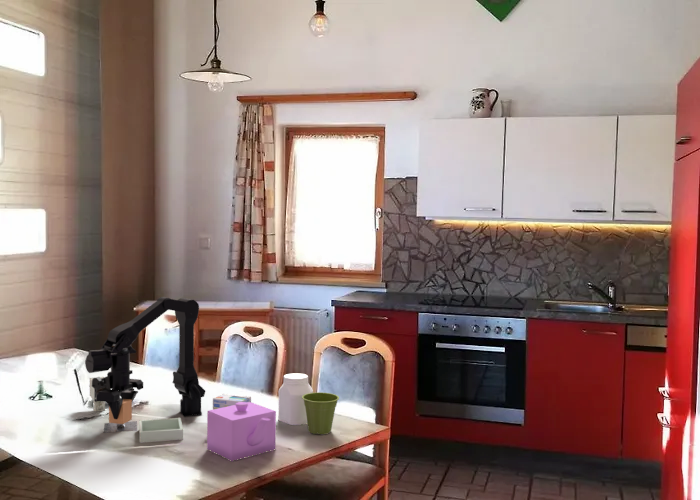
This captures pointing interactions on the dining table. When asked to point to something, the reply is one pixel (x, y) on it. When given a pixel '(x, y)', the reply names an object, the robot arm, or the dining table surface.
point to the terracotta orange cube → (122, 413)
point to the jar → (293, 399)
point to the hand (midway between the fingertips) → (120, 416)
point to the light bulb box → (228, 400)
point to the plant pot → (320, 411)
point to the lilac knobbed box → (241, 430)
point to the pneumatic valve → (97, 404)
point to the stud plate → (120, 427)
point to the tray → (160, 430)
